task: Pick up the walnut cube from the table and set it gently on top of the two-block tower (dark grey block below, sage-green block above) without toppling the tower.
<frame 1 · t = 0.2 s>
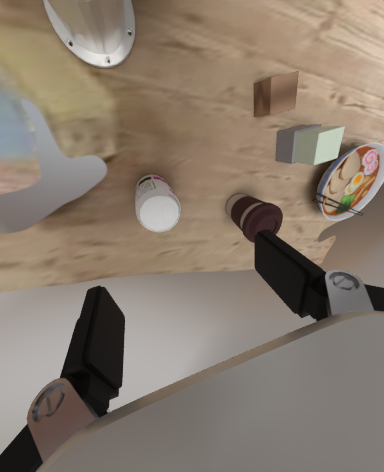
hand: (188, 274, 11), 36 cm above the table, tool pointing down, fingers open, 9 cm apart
walnut cube: (265, 98, 41), on the table
ramen bowl: (331, 179, 58), on the table
supplement can: (152, 190, 44), on the table
tower base: (287, 143, 48), on the table, touching tower mid
coffee cup: (236, 205, 53), on the table
tower mid: (305, 144, 43), point 6 cm above the table, touching tower base
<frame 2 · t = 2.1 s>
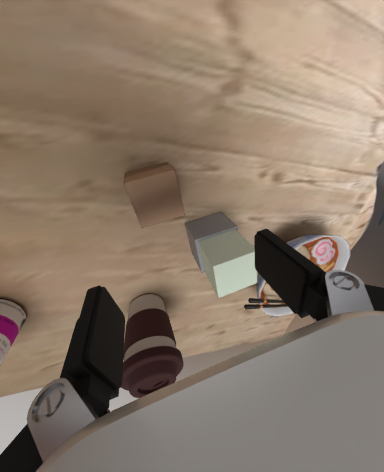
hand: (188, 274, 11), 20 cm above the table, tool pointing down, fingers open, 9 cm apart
walnut cube: (152, 187, 27), on the table
ramen bowl: (280, 260, 45), on the table
tower base: (205, 233, 34), on the table, touching tower mid
coffee cup: (146, 304, 39), on the table
tower mid: (218, 250, 29), point 6 cm above the table, touching tower base
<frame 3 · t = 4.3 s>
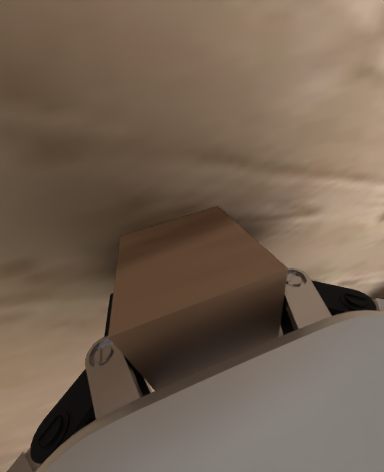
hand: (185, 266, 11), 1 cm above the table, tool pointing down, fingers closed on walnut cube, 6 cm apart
walnut cube: (181, 258, 12), on the table, touching gripper
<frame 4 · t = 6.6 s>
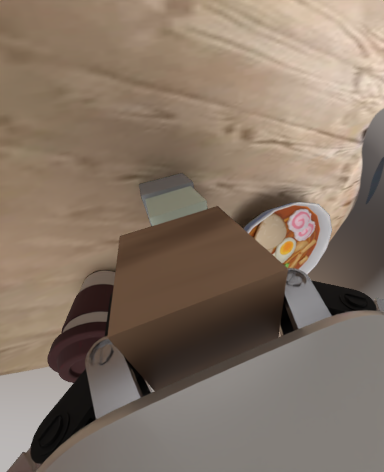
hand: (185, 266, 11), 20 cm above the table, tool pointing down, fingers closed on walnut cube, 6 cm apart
walnut cube: (181, 258, 12), point 19 cm above the table, touching gripper
ramen bowl: (258, 238, 41), on the table
tower base: (166, 199, 30), on the table, touching tower mid
coffee cup: (104, 283, 35), on the table
tower mid: (174, 213, 25), point 6 cm above the table, touching tower base
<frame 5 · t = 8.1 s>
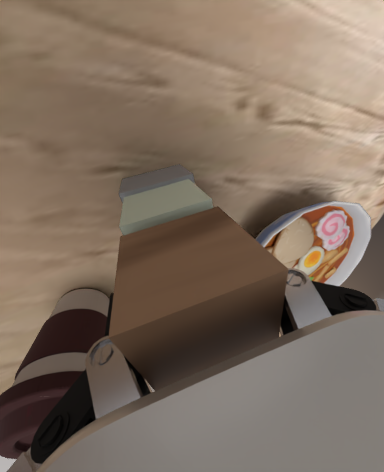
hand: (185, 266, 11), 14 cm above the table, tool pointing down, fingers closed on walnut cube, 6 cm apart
walnut cube: (182, 258, 12), point 13 cm above the table, touching gripper
ramen bowl: (274, 245, 34), on the table
tower base: (159, 198, 23), on the table, touching tower mid
coffee cup: (86, 303, 28), on the table
tower mid: (166, 217, 18), point 6 cm above the table, touching tower base
when the fingers open (14 cm above the table, at t = 9.0 s): walnut cube drops 1 cm, resting on tower mid.
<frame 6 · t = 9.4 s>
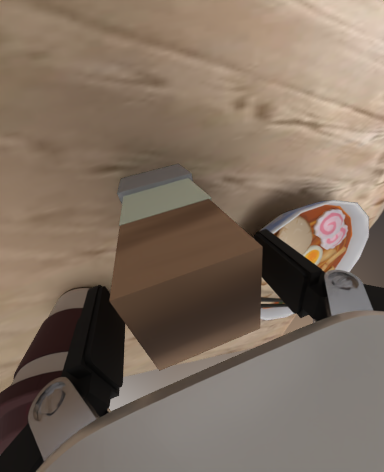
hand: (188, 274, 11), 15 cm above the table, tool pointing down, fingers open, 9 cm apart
walnut cube: (176, 247, 13), point 12 cm above the table, touching tower mid
ramen bowl: (273, 245, 34), on the table
tower base: (158, 198, 23), on the table, touching tower mid
coffee cup: (85, 302, 28), on the table
tower mid: (165, 216, 18), point 6 cm above the table, touching tower base, walnut cube
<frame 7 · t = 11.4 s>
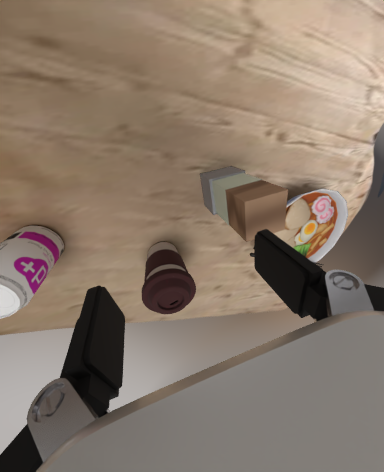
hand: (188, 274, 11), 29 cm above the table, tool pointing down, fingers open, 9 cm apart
walnut cube: (244, 202, 29), point 12 cm above the table, touching tower mid
ramen bowl: (284, 223, 49), on the table
supplement can: (41, 242, 36), on the table
tower base: (217, 186, 39), on the table, touching tower mid
coffee cup: (162, 253, 44), on the table
tower mid: (229, 193, 34), point 6 cm above the table, touching tower base, walnut cube
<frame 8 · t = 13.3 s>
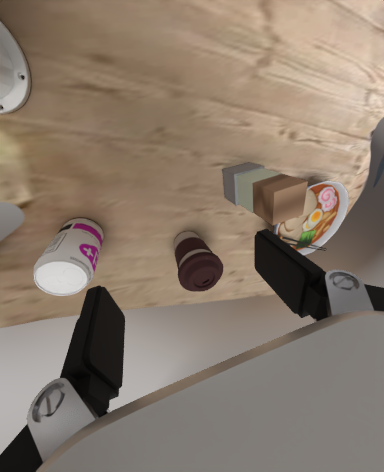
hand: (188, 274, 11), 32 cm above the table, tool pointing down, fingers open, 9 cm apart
walnut cube: (266, 193, 34), point 12 cm above the table, touching tower mid
ramen bowl: (292, 212, 55), on the table
supplement can: (84, 233, 40), on the table
tower base: (236, 180, 44), on the table, touching tower mid
coffee cup: (186, 241, 49), on the table
tower mid: (250, 186, 39), point 6 cm above the table, touching tower base, walnut cube
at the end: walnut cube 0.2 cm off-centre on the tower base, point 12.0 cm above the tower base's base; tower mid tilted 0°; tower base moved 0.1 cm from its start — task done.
